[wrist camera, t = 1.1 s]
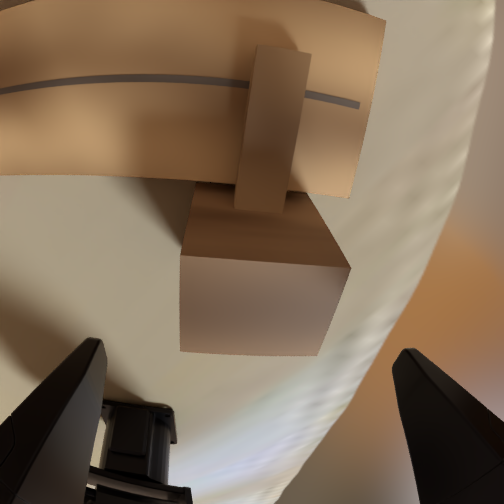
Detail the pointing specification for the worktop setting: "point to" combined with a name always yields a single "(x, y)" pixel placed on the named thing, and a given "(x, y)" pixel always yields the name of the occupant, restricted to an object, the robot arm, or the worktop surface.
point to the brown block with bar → (261, 236)
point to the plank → (178, 87)
